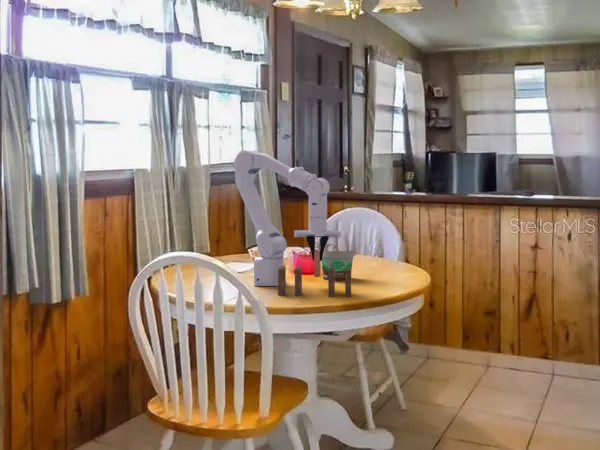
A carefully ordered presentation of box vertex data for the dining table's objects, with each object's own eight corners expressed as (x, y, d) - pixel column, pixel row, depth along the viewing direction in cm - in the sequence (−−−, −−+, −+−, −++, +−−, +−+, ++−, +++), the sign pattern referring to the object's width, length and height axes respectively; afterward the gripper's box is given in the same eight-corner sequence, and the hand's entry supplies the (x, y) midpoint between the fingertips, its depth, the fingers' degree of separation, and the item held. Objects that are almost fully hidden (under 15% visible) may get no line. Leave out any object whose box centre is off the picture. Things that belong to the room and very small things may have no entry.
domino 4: (328, 296, 210) (328, 270, 209) (329, 293, 215) (329, 267, 214) (333, 296, 210) (333, 270, 209) (334, 293, 215) (334, 267, 214)
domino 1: (278, 295, 212) (278, 269, 211) (280, 292, 217) (280, 266, 216) (283, 295, 212) (283, 269, 211) (285, 292, 217) (285, 266, 216)
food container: (323, 282, 233) (323, 252, 232) (318, 279, 239) (319, 249, 238) (359, 281, 235) (359, 251, 234) (354, 277, 241) (354, 248, 240)
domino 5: (345, 297, 210) (345, 270, 209) (345, 293, 215) (346, 267, 214) (350, 297, 210) (350, 270, 209) (351, 293, 215) (351, 267, 214)
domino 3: (314, 277, 220) (314, 251, 219) (315, 274, 225) (315, 249, 224) (319, 277, 220) (319, 251, 219) (320, 274, 225) (320, 249, 224)
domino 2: (294, 295, 211) (294, 269, 210) (296, 292, 216) (296, 266, 215) (300, 296, 211) (300, 269, 210) (301, 292, 216) (301, 266, 215)
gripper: (293, 218, 217) (292, 261, 219) (340, 218, 216) (340, 262, 217) (295, 215, 224) (295, 258, 226) (341, 216, 223) (341, 259, 224)
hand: (317, 260), depth 222 cm, fingers closed on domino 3, 1 cm apart
